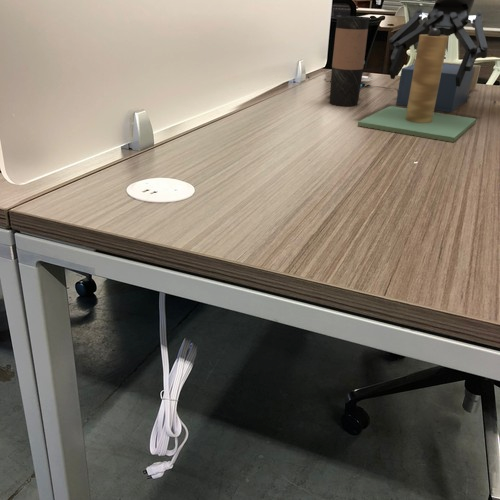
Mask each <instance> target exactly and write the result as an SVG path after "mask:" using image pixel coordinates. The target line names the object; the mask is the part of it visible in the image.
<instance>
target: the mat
mask: <svg viewBox="0 0 500 500" xmlns="http://www.w3.org/2000/svg"><path fill="white" fill-rule="evenodd" d="M406 112H407V107H398V106H393V105H392V106H391V105H389V106H387V107H385V108H383V109H381V110H379V111H377V112H374V113H373V114H370V115H369V116H366V117H364V118H363V119H360V120H359V121H358V122H357V127H360V126H362V127H361V128H366V127H368V128H367V129H372V128H374V129H373V130H377V129H380V130H379V131H383V130H385V132H389V131H390V133H395V132H396V134H400V135H401V134H402V135H408V136H413V135H414V137H420V138H424V139H430V138H431V139H432V140H436V139H437V140H438V141H443V142H449V143H454V142H456V141H457V140H458V139H459V138H460V137H461V136H463V135H464V134H465V133H466V132H467V131H468V130H470V128H471V127H473V126H474V125H475V124H476V122H477V118H475V117H467V116H462V115H461V116H460V115H453V114H448V113H439V112H434V114H433V119H432V122H430V123H416V122H411V121H408V120H406V119H405V118H406Z"/></svg>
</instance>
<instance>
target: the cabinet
mask: <svg viewBox="0 0 500 500" xmlns="http://www.w3.org/2000/svg"><path fill="white" fill-rule="evenodd" d="M414 65H415V63H413V64H411V65H408V66H405V67H402V68H401V72H400V76H399V82H398V90H397V96H396V102H395V105H396V106H402V107H403V106H404V107H407V106H408V100H409V94H410V88H411V83H412V77H413V71H414ZM459 68H460V65H449V64H443V67H442V73H441V78H440V83H439V88H438V93H437V98H436V103H435V108H434V111H437V112H438V111H439V112H444V113H445V112H446V113H453V112H455V110H457V109H459V108H460V107H461V106H463V105H464V104H466V103H467V102H468V98H469V95H470V91H469V89H470V85H471V81H472V76H473V72H474V67H473V68H472V70H471V71H466V72H465V74H464V77H463V80H462V82H461V85H460V87H458V86H456V75H457V73H458V70H459Z"/></svg>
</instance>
